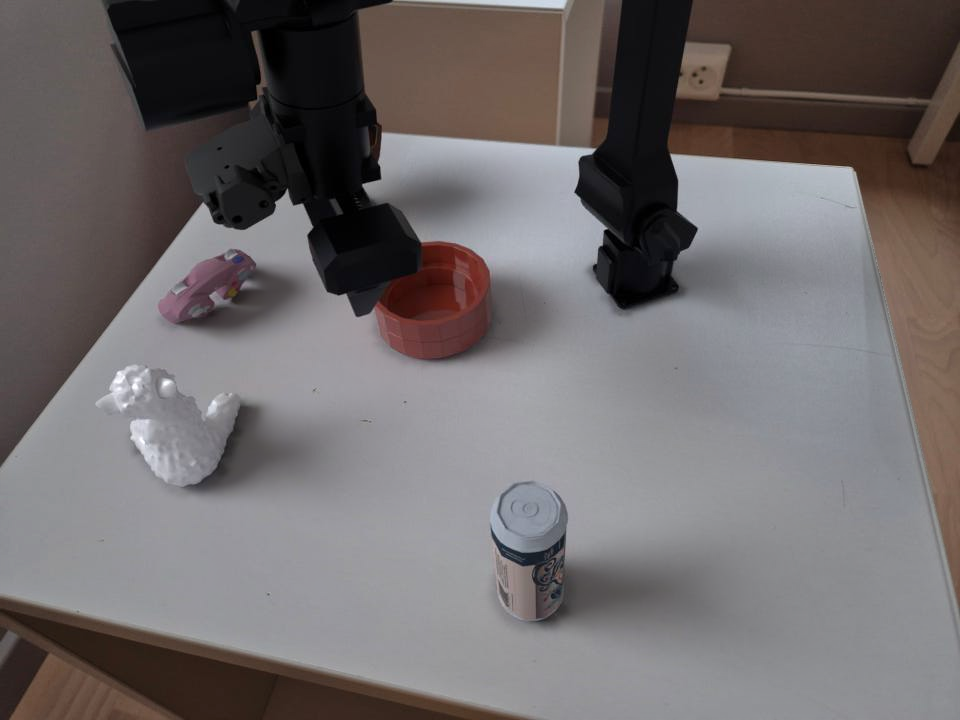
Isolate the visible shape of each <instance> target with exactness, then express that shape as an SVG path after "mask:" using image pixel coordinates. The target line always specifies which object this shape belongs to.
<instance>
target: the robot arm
mask: <svg viewBox="0 0 960 720" xmlns="http://www.w3.org/2000/svg"><path fill="white" fill-rule="evenodd" d="M100 2H101V5H102V8H103V11H104V14H105V16H106V17H105V19H106V23H107V28H108V30H109V34H110V36H111V40H112V43H109V46H110V50H111V52H112V54H113V58H114V60H115V61H114V62H115V63H116V66H117V68H118V71H119V74H120V76H121V79H122V82H123V85H124V87H125V89H126V93H127V94H128V98H129V99H130V103H131V104H132V107H133V109H134V112H135V114H136V116H137V119H138V120H139V123H140V125H141V127H142V129H143V131H144V133H148V132H152V131H157V130H160V129H164V128H167V127H172V126H177V125H181V124H185V123H189V122H193V121H197V120H200V119H205V118H209V117H213V116H218V115H221V114H226V113H229V112H233V111H238V110H242V109H247V108H248V107H249V103H251V102H255V101H257V102H256V103H255V105H254V106H253V107H252V108H251V110H250V112H249V117H250V119H249V120H248V121H245V122H240V123H237V124H234V125H232V126H231V127H229V128H227V129H225V130H224V131H222V132H220V133H219V134H218V133H217V134H216V135H215V136H213V137H211V138H210V139H208V140H206V141H205V142H203V143H201V144H199V145H197V146H195V147H194V148H192V149H191V150H190V151H189V152H188V153H187V154H186V156H185V158H184V166H185V169H186V172H187V175H188V178H189V181H190V183H191V186H192V189H193V191H194V194H195V195H196V196H197V197H198V198H199V200H201V202H202V203H203V204H204V206H205V207H206V208H207V209H208V211H209V214H210V217H211V219H212V221H213V223H214V224H216V225H221V226H223V227H224V228H227V229H234V230H236V231H246V230H248V229H249V228H251V227H253V226H255V225H257V224H258V223H260V222H261V221H264V220H265V219H267V218H269V217H270V216H272V215H274V214H275V211H276V208H277V204H276V202H278V201H279V200H281V199H282V198H283V197H284V196H285V194H286V193H288V197H289V200H290V202H291V204H292V206H293V207H294V206H298V205H303V208H304V211H305V212H306V215H307V216H308V219H309V222H310V223H311V226H312V228H311V229H310V230H309V232H308V233H307V234H306V237H307V243H308V249H309V251H310V255H311V260H312V262H313V265H314V267H315V269H316V271H317V274H318V276H319V278H320V280H321V283H322V284H323V287H324V289H325V290H326V292H327V293H329V294H332V295H335V296H338V297H339V296H343V295H346V297H347V300H348V302H349V304H350V306H351V309H352V311H353V314H354V316H355V317H356V318H361V317H364V316H367V315H370V314H371V313H372V312H373V308H374V307H375V305H376V304H377V302H378V300H379V299H380V297H381V296H382V294H383V293H384V291H385V289H386V288H387V286H388V285H389V283H390V282H391V281H392V280H396V279H399V278H403V277H406V276H410V275H413V274H417V273H418V271H419V270H420V268H421V266H422V243H421V242H422V241H421V240H420V238H419V237H418V234H417V233H416V231H415V230H414V228H413V227H412V225H411V224H410V223H411V222H409V220H408V219H407V217H406V215H405V214H404V212H403V210H402V209H400V208H398V207H397V206H395V205H392V204H391V203H390V202H384V203H380V204H377V205H376V204H375V205H374V203H373V201H372V200H371V198H370V196H369V194H368V192H367V191H366V189H365V187H364V186H363V185H364V184H369V183H373V182H378V181H382V168H381V166H380V165H381V164H379V161H378V162H377V160H376V159H375V157H374V155H373V154H372V152H371V150H370V143H369V132H368V126H372V125H376V124H377V122H378V116H377V114H378V113H377V108H376V107H375V106H374V104H373V102H372V101H371V100H370V98H369V96H368V94H366V86H365V73H364V65H363V64H364V63H363V49H362V40H361V39H362V38H361V28H360V27H361V26H360V16H359V11H360V10H364V9H369V8H374V7H378V6H383V5H389V4H391V3H392V2H394V0H100ZM693 3H694V0H621V8H620V16H619V23H618V24H619V25H618V33H617V34H618V35H617V42H616V50H615V52H616V53H615V61H614V70H613V79H612V88H611V96H610V105H609V115H608V124H607V131H606V136H605V138H604V139H603V140H602V141H601V143H600V144H599V145H598V147H597V148H596V149H595V150H594V151H593V152H592V153H591V154H585V155H581V156H580V157H579V160H578V161H577V162H578V180H577V184H576V186H575V189H574V191H573V193H574V194H575V195H576V196H577V197H578V198H579V199H580V203H581V205H582V206H583V207H584V209H585V210H586V211H587V212H588V213H590V214H591V215H592V216H593V217H594V218H595V219H596V220H598V221H599V222H600V223H601V225H603V226H604V227H605V228H606V229H604V230H603V234H602V235H603V236H602V245H600V246H599V247H598V248H597V259H596V263H594V264H593V265H592V272H593V273H594V275H595V279H596V280H597V282H598V283H599V285H600V286H601V287H602V289H603V290H604V292H605V293H606V294H607V295H609V296H610V298H611V299H612V300H613V302H614V303H615V305H616V306H617V307H618V308H619V309H621V310H626V309H629V308H632V307H635V306H639V305H642V304H645V303H648V302H652V301H654V300H657V299H660V298H664V297H667V296H670V295H673V294H676V293H678V292H679V290H680V285H679V283H678V282H677V280H675V279H674V278H673V276H672V275H673V268H674V263H675V262H676V261H678V257H679V255H680V254H681V252H683V251H686V250H688V249H689V248H690V247H691V245H692V243H693V241H694V239H695V237H696V235H697V233H698V232H699V227H698V226H697V225H695V224H694V223H693V222H691V221H690V220H689V219H687V218H686V217H685V216H684V215H683V214H682V213H681V212H679V211H678V204H679V203H678V202H679V201H678V200H679V178H678V175H677V172H676V168H675V165H674V161H673V159H672V156H671V152H670V149H669V136H670V131H671V125H672V120H673V114H674V109H675V103H676V96H677V92H678V86H679V81H680V75H681V69H682V64H683V58H684V53H685V48H686V42H687V37H688V31H689V25H690V19H691V16H692V15H691V14H692V8H693ZM252 32H256V38H257V42H258V43H257V44H258V47H259V48H258V49H259V53H260V57H261V58H260V59H261V63H262V68H263V73H264V79H265V83H266V86H263V87H261V92H262V94H259V95H258V89H257V88H258V87H257V86H260V85H261V83H262V72H261V66H260V61H259V57H258V53H257V51H256V50H257V49H256V45H255V43H254V37H253V34H252ZM336 214H337V215H336Z"/></svg>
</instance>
